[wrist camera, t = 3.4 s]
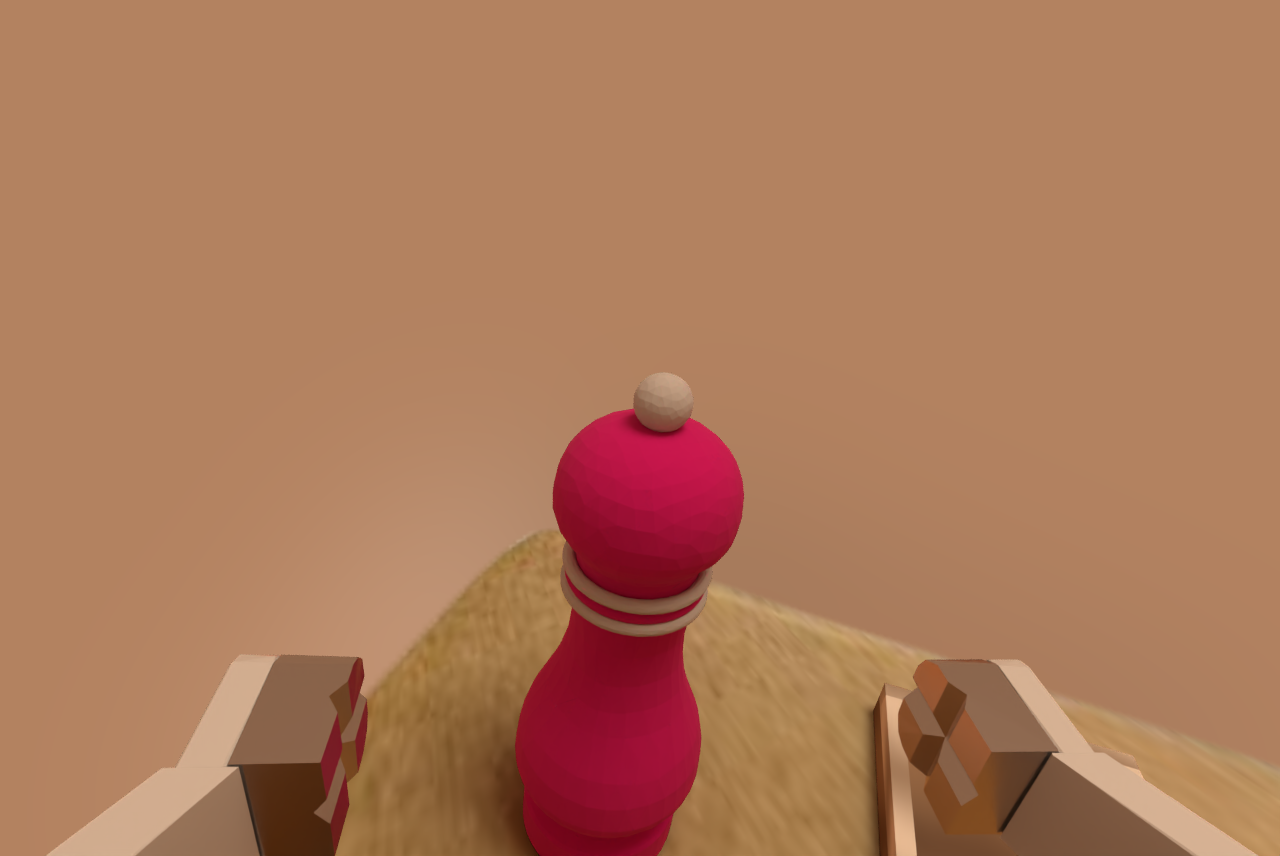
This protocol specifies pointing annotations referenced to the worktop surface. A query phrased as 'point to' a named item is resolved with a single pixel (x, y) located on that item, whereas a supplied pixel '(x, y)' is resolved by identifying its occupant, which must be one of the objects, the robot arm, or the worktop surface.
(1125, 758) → the orange tag dock
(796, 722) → the worktop surface
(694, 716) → the pepper mill
